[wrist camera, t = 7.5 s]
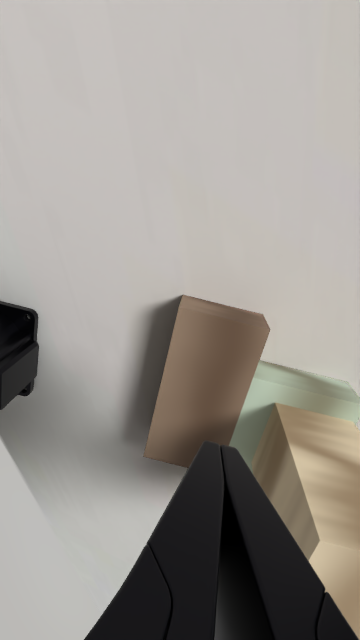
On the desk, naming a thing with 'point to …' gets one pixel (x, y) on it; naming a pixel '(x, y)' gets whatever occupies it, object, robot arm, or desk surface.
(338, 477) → the beech block
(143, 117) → the desk surface
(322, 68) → the desk surface
